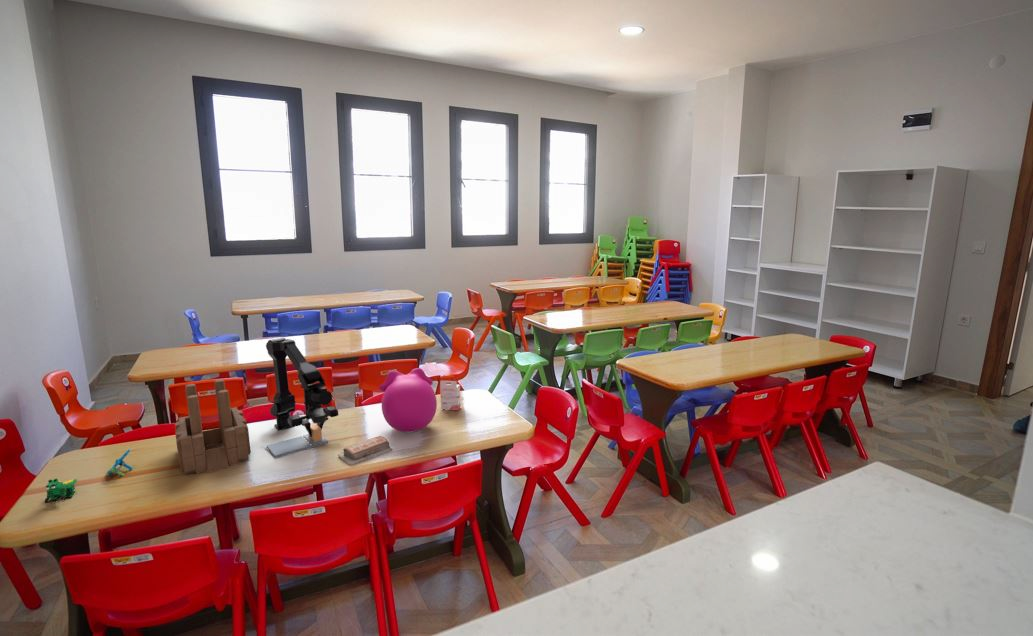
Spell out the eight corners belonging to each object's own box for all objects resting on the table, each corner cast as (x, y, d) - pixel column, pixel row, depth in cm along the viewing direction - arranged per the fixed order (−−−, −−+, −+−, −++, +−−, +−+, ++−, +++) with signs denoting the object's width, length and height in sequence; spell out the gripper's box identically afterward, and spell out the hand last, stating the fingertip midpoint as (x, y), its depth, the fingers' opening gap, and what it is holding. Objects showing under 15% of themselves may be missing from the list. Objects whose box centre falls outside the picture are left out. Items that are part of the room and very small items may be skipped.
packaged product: (379, 432, 210) (392, 439, 203) (379, 443, 211) (392, 451, 204) (337, 446, 197) (349, 454, 190) (337, 458, 198) (350, 466, 191)
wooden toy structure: (181, 479, 182) (170, 405, 177) (178, 448, 207) (169, 383, 201) (253, 461, 195) (245, 392, 190) (242, 434, 219) (235, 373, 214)
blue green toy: (114, 461, 192) (131, 443, 191) (129, 469, 194) (146, 451, 194) (98, 479, 182) (116, 460, 181) (114, 488, 184) (132, 469, 183)
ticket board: (266, 447, 207) (266, 445, 206) (302, 438, 215) (302, 435, 215) (275, 458, 198) (275, 455, 197) (312, 447, 206) (312, 444, 206)
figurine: (431, 415, 239) (429, 363, 234) (443, 435, 217) (441, 378, 212) (379, 422, 231) (376, 368, 226) (386, 444, 209) (382, 385, 204)
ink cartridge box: (461, 407, 249) (460, 378, 246) (458, 411, 244) (457, 381, 241) (443, 406, 250) (442, 377, 247) (440, 410, 245) (439, 380, 242)
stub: (303, 437, 216) (301, 424, 214) (317, 433, 219) (316, 420, 218) (313, 447, 207) (312, 433, 205) (328, 442, 210) (327, 429, 209)
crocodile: (63, 482, 180) (58, 459, 179) (84, 479, 183) (80, 455, 181) (42, 511, 163) (37, 485, 161) (66, 506, 165) (61, 481, 164)
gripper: (294, 410, 198) (298, 449, 201) (342, 399, 209) (345, 435, 212) (285, 403, 206) (289, 439, 209) (331, 392, 218) (334, 427, 221)
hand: (315, 435), depth 213 cm, fingers closed on stub, 3 cm apart
